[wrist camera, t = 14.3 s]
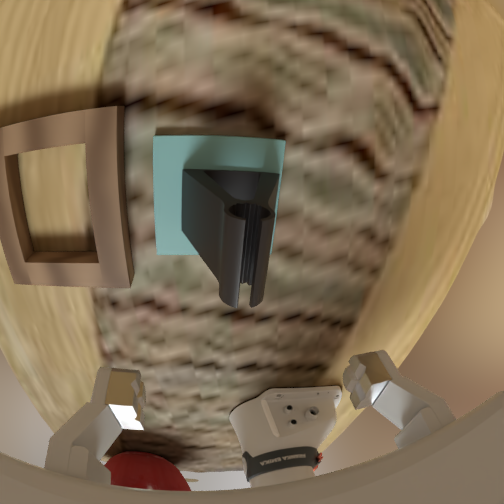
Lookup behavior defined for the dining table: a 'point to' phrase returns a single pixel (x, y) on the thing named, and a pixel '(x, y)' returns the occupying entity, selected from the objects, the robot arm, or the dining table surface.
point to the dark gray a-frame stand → (231, 226)
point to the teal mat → (202, 157)
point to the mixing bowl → (145, 472)
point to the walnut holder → (100, 195)
